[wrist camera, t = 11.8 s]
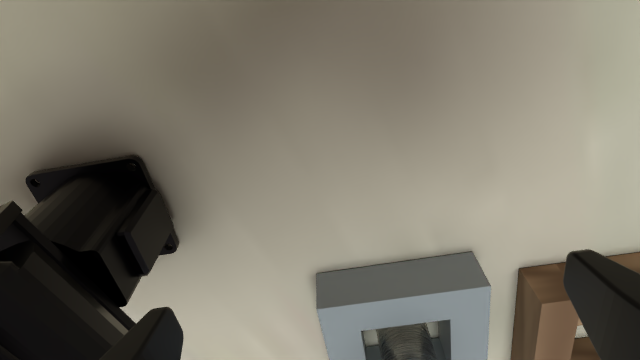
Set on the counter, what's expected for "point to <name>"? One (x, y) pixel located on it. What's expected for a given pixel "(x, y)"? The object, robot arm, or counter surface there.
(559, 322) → the brown square frame
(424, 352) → the axle
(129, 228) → the robot arm
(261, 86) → the counter surface
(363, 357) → the socket block
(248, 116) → the counter surface
